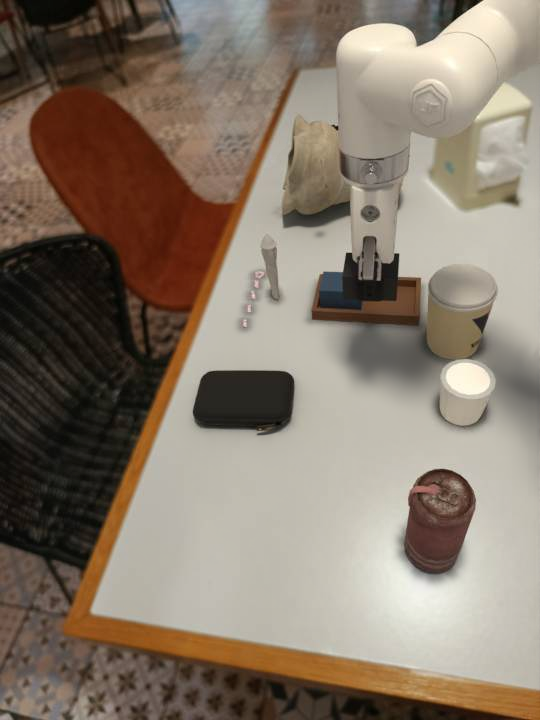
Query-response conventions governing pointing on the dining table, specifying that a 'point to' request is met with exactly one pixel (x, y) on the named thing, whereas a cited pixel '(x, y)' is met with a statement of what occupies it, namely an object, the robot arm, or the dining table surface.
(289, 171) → the vase
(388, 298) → the pad
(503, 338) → the dining table surface
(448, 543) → the can
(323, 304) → the blue block
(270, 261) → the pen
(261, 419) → the carrying case
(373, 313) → the tray
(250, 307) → the flower petals
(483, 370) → the white short cylinder
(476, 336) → the coffee cup
